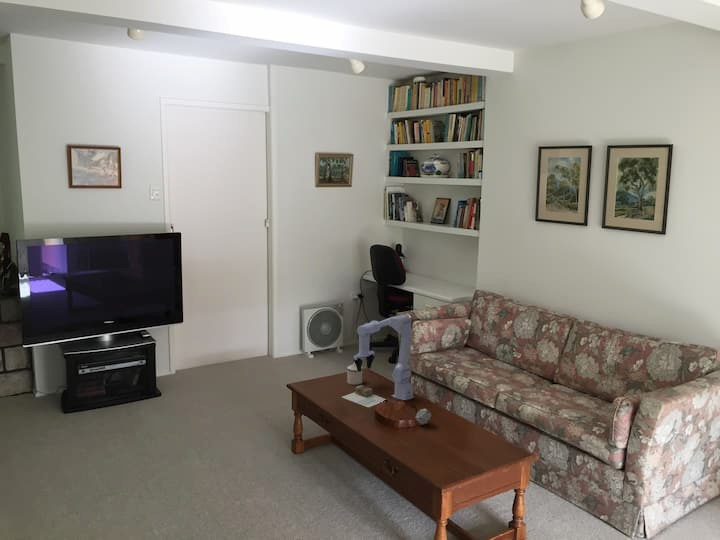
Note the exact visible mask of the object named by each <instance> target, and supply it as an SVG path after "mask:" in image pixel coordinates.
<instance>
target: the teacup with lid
mask: <svg viewBox="0 0 720 540" xmlns="http://www.w3.org/2000/svg"><path fill="white" fill-rule="evenodd" d="M346 371H347V373H346V374H347V375H346V377H347V379H346V382H347V384H350V385H353V386H354V385H355V386H356V385H357V386H358V385H362V384H363V378H364V377H363V371H364V368H363V365H362V366H361V372H359V371H357V367H356V364H355V362H353V364H350V365H348V366H347V368H346Z"/></svg>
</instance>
